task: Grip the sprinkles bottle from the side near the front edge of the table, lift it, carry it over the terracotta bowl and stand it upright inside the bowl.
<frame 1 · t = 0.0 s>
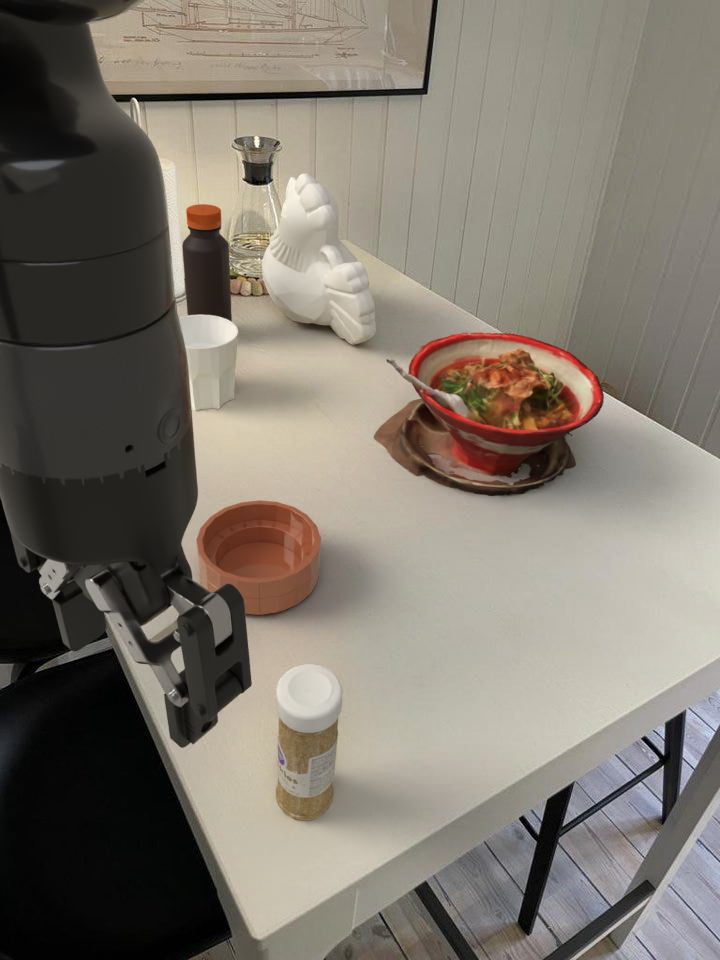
hand: (137, 683, 38), 24 cm above the table, tool pointing down, fingers open, 8 cm apart
sprinkles bottle: (305, 796, 59), on the table
bowl: (259, 574, 78), on the table
decorative rooster: (319, 329, 125), on the table
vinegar: (211, 337, 120), on the table
cup: (204, 396, 106), on the table
stew: (477, 456, 99), on the table
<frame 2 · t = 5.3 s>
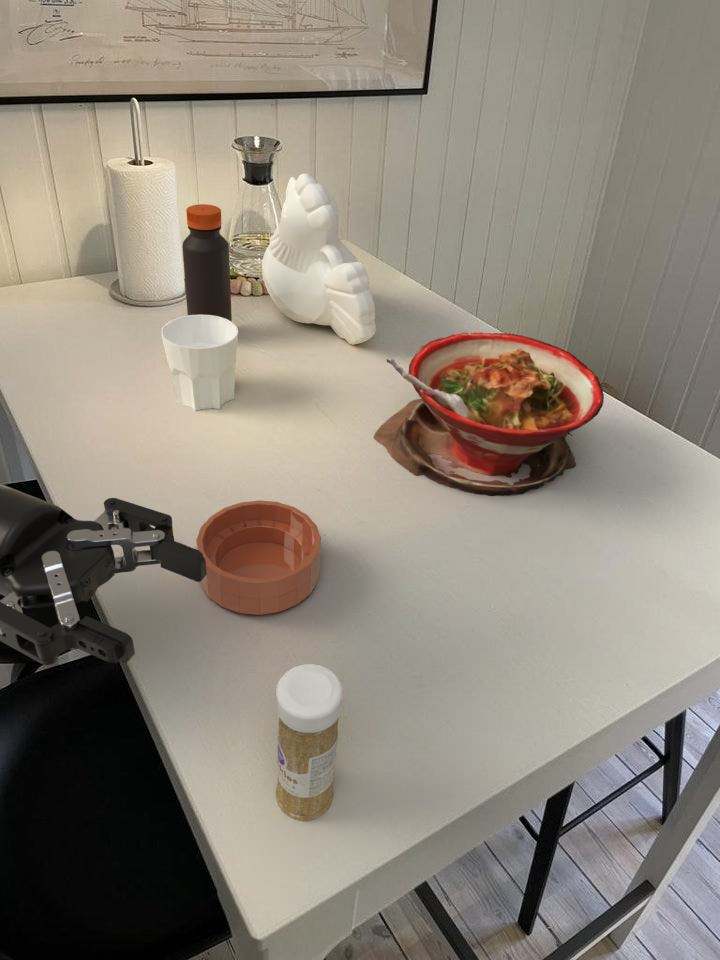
hand: (169, 607, 53), 16 cm above the table, tool horizontal, fingers open, 8 cm apart
nothing on the table moved.
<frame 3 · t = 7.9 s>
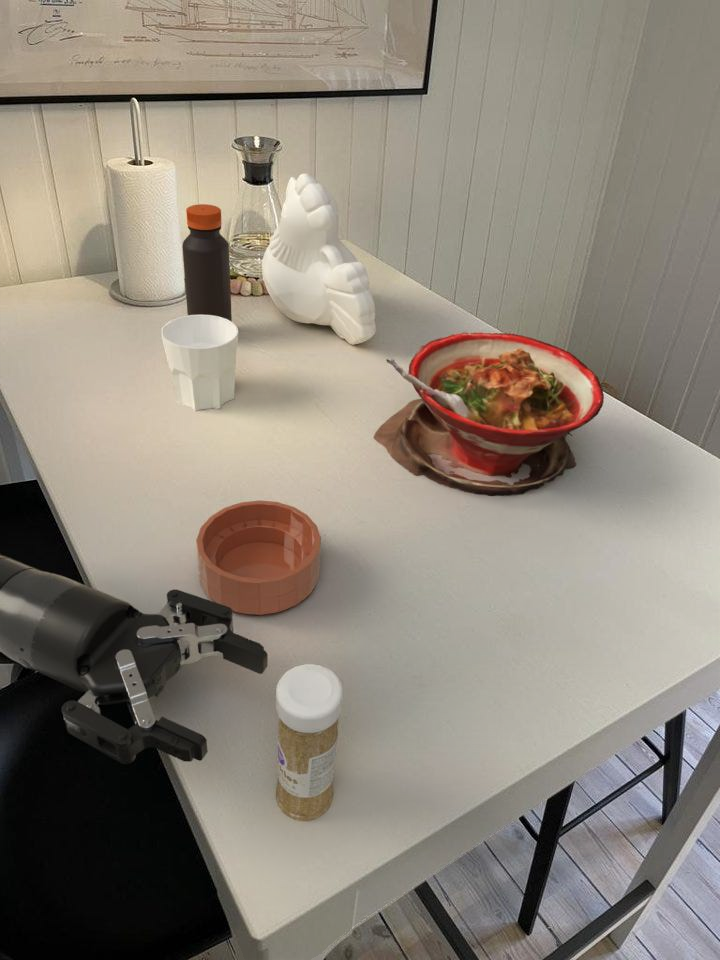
hand: (236, 703, 56), 8 cm above the table, tool horizontal, fingers open, 8 cm apart
nothing on the table moved.
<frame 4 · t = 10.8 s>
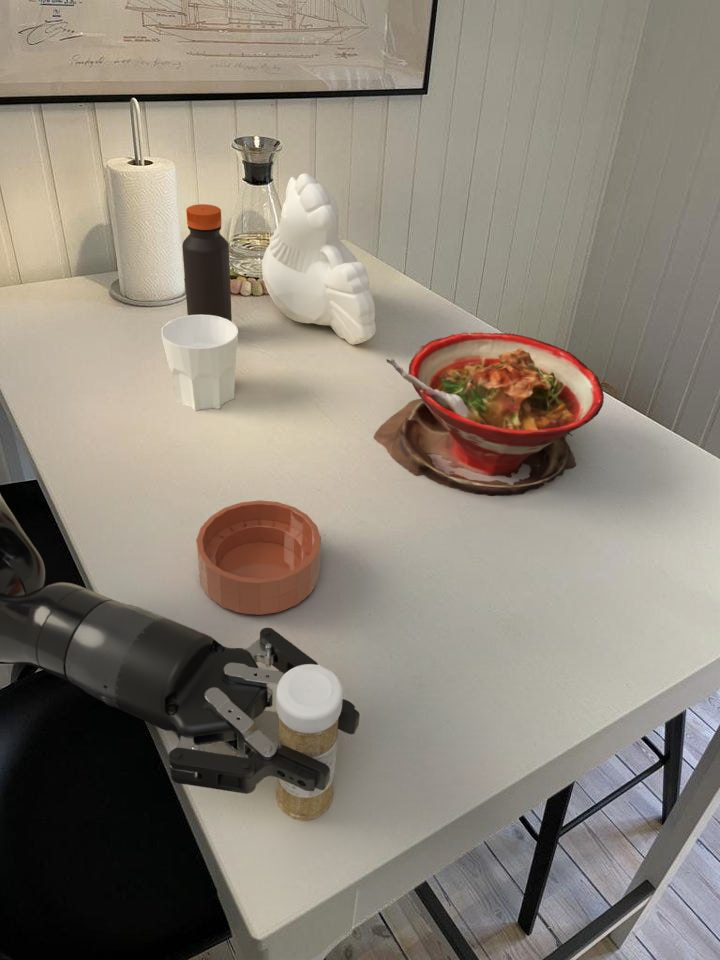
hand: (341, 749, 53), 8 cm above the table, tool horizontal, fingers closed on sprinkles bottle, 4 cm apart
sprinkles bottle: (305, 796, 59), on the table, touching gripper
everything else where it was.
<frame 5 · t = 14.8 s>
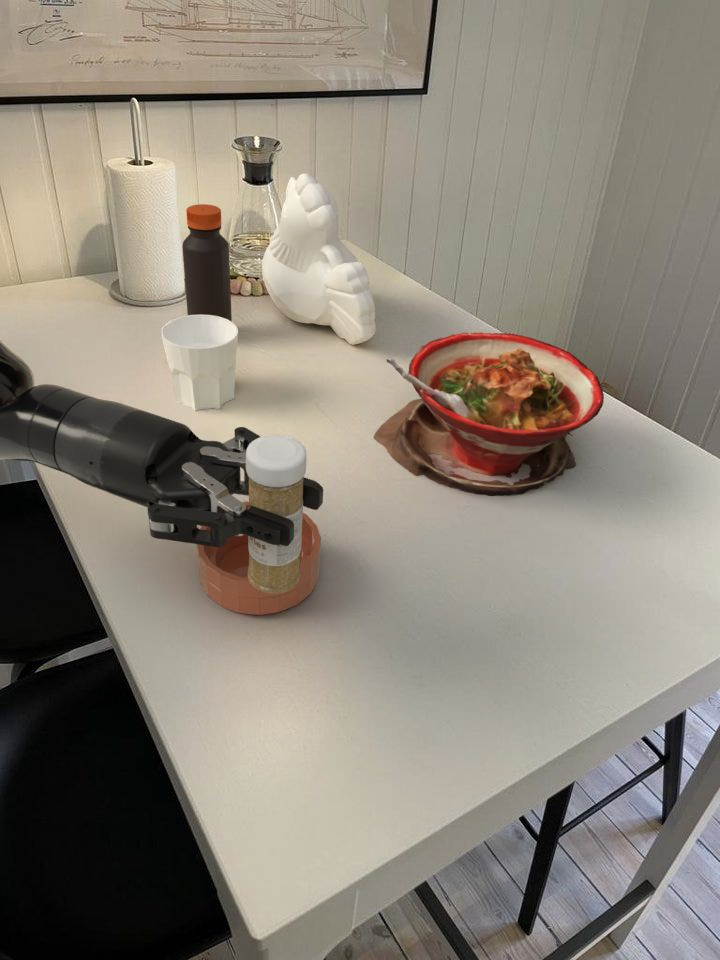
hand: (306, 515, 59), 18 cm above the table, tool horizontal, fingers closed on sprinkles bottle, 4 cm apart
sprinkles bottle: (274, 578, 64), point 10 cm above the table, touching gripper
everything else where it was.
when the fingers open (9 cm above the table, at t = 19.2 s): sprinkles bottle stays where it is, resting on bowl.
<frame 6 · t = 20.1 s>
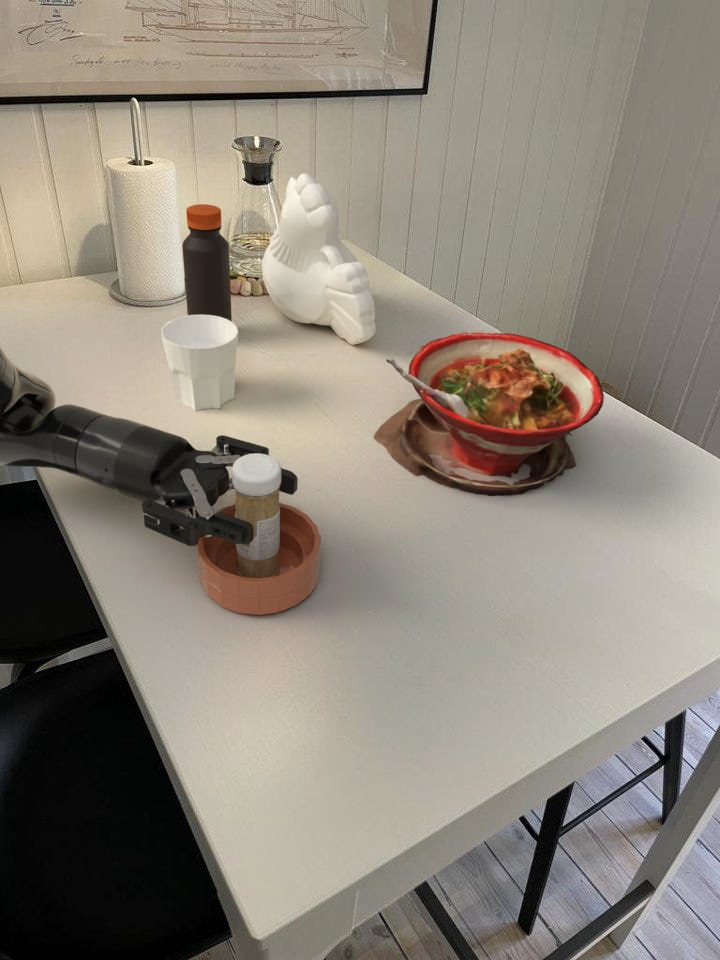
hand: (274, 509, 72), 10 cm above the table, tool horizontal, fingers open, 8 cm apart
sprinkles bottle: (258, 571, 78), resting on bowl
everything else where it was.
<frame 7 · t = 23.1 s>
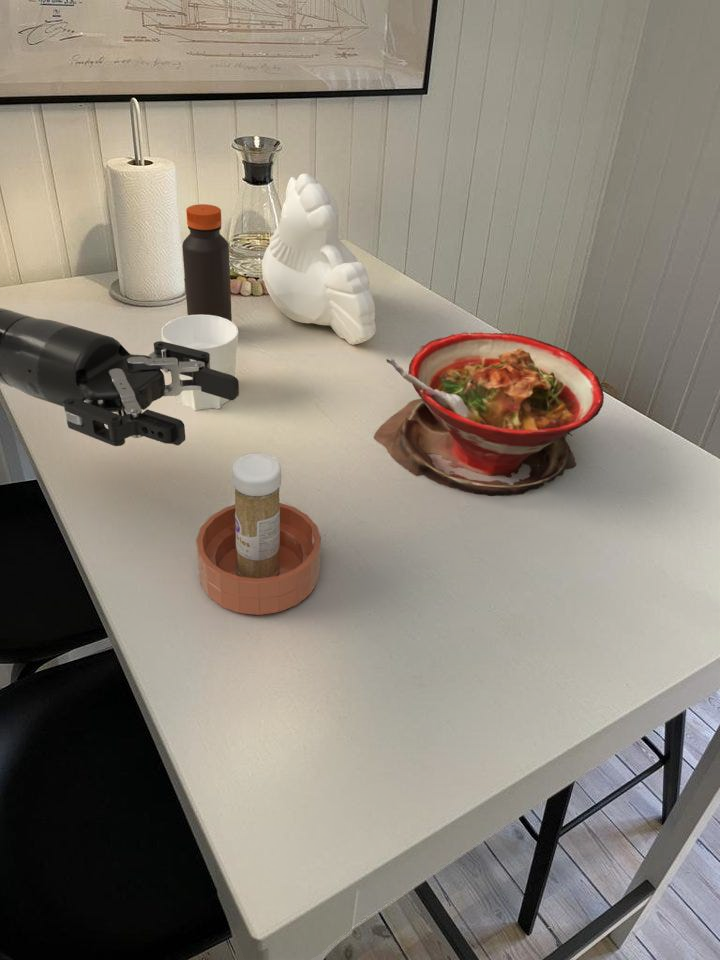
hand: (211, 410, 66), 20 cm above the table, tool horizontal, fingers open, 8 cm apart
nothing on the table moved.
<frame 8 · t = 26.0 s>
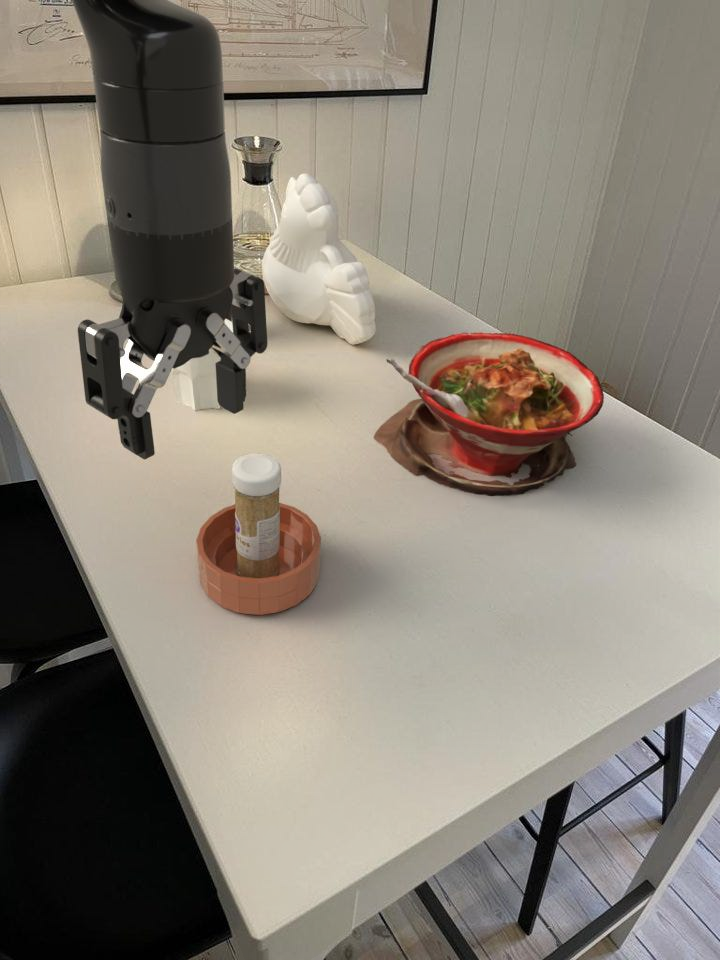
hand: (188, 429, 56), 24 cm above the table, tool pointing down, fingers open, 8 cm apart
nothing on the table moved.
at the end: sprinkles bottle 0.1 cm off-centre in the bowl, point 0.4 cm above the bowl's base; sprinkles bottle tilted 0°; the gripper is holding nothing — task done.
